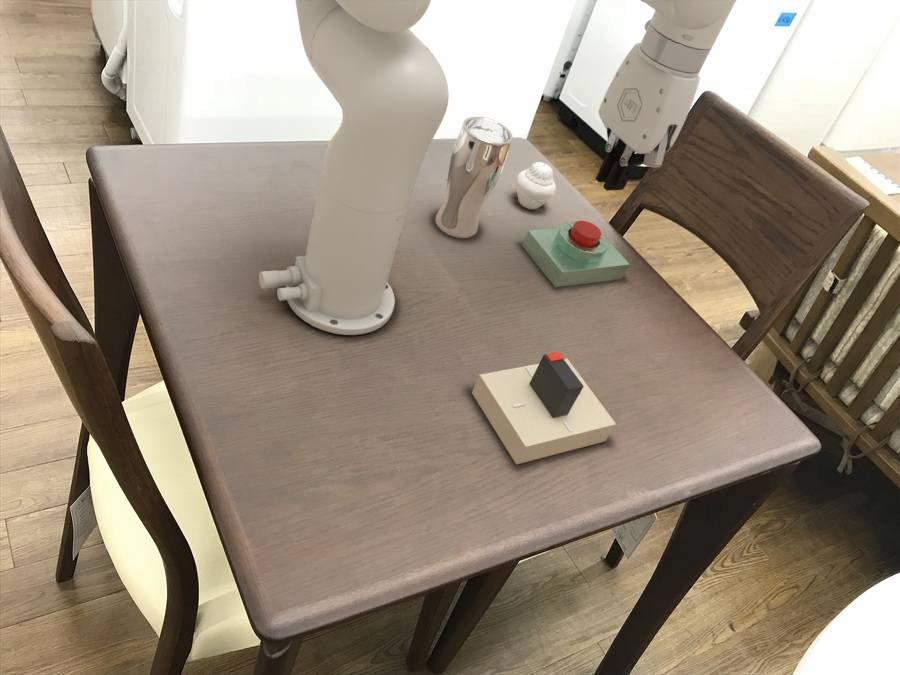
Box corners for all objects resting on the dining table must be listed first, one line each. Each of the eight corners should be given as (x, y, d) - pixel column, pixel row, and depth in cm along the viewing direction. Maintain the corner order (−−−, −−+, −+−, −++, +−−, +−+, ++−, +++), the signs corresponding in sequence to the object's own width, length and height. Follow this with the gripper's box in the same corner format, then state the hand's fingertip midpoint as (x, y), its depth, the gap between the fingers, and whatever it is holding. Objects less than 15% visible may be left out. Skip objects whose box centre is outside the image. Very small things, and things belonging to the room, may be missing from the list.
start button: (579, 249, 103) (584, 239, 102) (564, 231, 106) (568, 221, 105) (602, 247, 105) (607, 237, 104) (586, 229, 108) (591, 219, 107)
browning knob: (567, 414, 81) (585, 384, 78) (552, 418, 80) (569, 387, 77) (543, 380, 84) (559, 350, 81) (529, 383, 83) (544, 352, 80)
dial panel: (516, 464, 78) (526, 445, 76) (471, 392, 84) (479, 373, 82) (605, 441, 84) (617, 423, 82) (558, 375, 90) (567, 357, 88)
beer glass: (475, 246, 104) (510, 151, 95) (426, 229, 104) (457, 132, 94) (483, 220, 110) (517, 127, 100) (437, 204, 110) (467, 109, 100)
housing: (554, 287, 103) (567, 261, 100) (521, 245, 108) (532, 219, 105) (621, 279, 109) (635, 254, 106) (587, 239, 114) (599, 215, 111)
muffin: (501, 197, 116) (516, 157, 111) (524, 187, 120) (540, 148, 115) (532, 219, 114) (548, 180, 109) (555, 209, 118) (572, 170, 113)
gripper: (611, 17, 90) (555, 152, 102) (692, 82, 81) (621, 222, 93) (657, 21, 94) (598, 151, 106) (739, 84, 85) (665, 219, 97)
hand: (609, 184), depth 100 cm, fingers closed
